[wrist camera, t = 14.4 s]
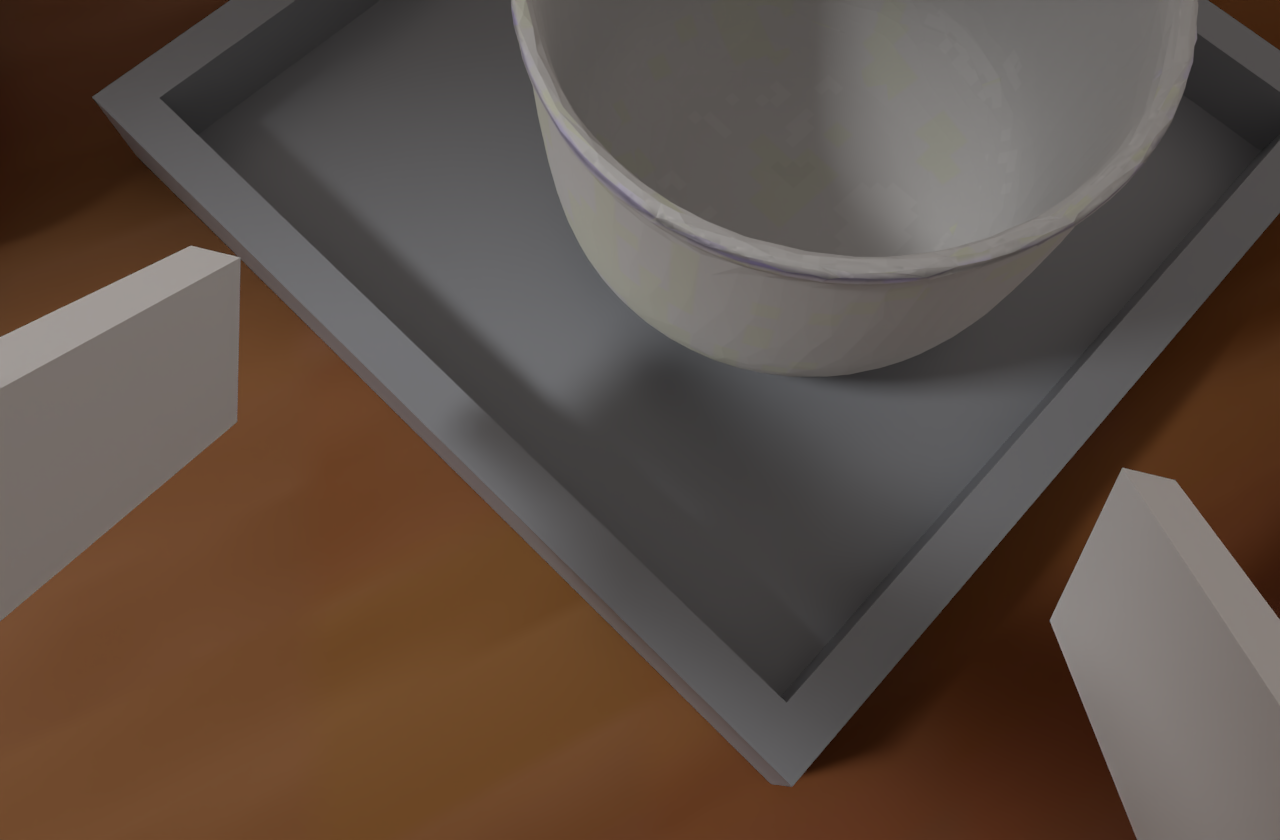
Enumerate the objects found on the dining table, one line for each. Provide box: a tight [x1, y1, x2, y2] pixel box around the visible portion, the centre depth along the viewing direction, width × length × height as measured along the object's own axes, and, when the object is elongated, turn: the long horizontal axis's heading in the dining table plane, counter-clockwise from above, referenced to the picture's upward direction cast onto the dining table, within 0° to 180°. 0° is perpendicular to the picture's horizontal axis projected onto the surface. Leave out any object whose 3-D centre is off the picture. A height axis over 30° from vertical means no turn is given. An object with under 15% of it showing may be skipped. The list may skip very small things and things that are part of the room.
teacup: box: [511, 0, 1198, 377], centre depth 20 cm, size 14×11×8 cm
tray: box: [92, 0, 1280, 787], centre depth 23 cm, size 20×20×2 cm
